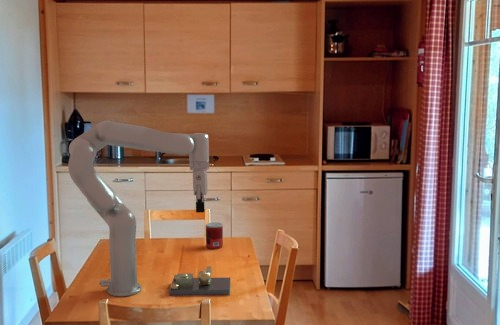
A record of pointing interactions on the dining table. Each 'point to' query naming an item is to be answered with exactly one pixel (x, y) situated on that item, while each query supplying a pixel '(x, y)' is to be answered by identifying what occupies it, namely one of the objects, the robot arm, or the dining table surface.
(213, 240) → the canned food
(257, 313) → the dining table surface
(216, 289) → the plate
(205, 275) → the lever handle
